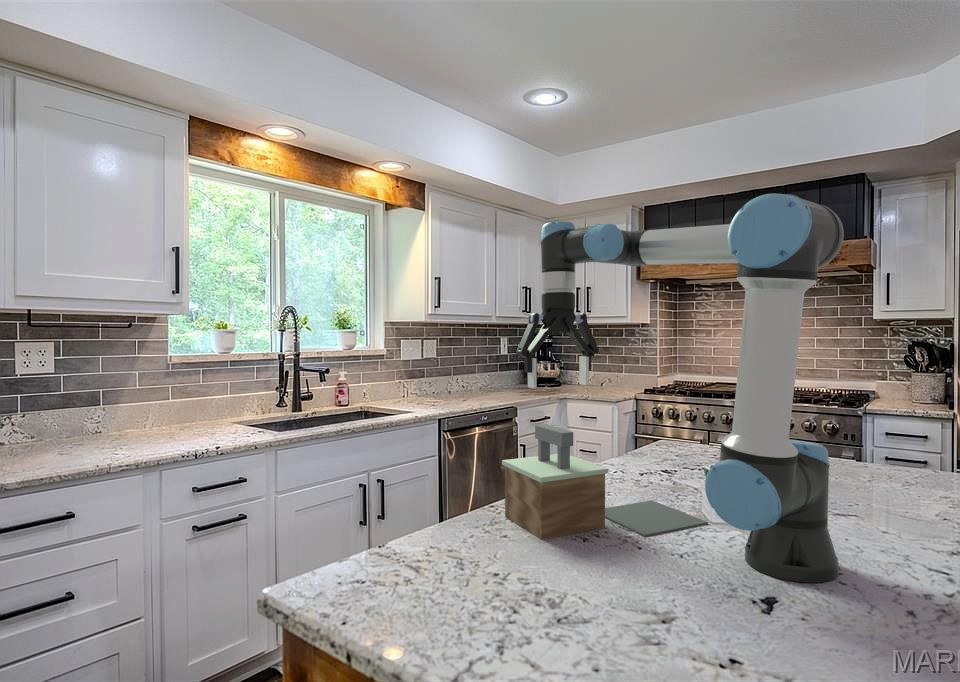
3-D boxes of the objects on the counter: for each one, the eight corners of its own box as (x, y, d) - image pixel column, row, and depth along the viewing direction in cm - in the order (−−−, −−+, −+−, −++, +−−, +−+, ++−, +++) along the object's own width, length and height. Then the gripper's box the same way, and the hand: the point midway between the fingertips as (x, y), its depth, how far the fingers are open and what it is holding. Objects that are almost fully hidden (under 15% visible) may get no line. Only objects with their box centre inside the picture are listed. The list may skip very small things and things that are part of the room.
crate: (604, 527, 129) (605, 472, 128) (541, 539, 122) (541, 481, 121) (563, 507, 143) (563, 457, 143) (505, 516, 136) (504, 464, 136)
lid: (608, 473, 128) (608, 431, 128) (540, 482, 121) (540, 438, 121) (564, 457, 143) (564, 420, 143) (502, 464, 136) (501, 425, 136)
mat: (708, 523, 131) (708, 522, 131) (644, 536, 123) (644, 534, 123) (651, 501, 147) (651, 500, 147) (592, 512, 139) (592, 510, 139)
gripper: (594, 293, 142) (595, 382, 143) (501, 292, 132) (501, 387, 133) (614, 291, 135) (614, 384, 136) (516, 290, 125) (517, 390, 126)
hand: (558, 386), depth 134 cm, fingers open, 13 cm apart
